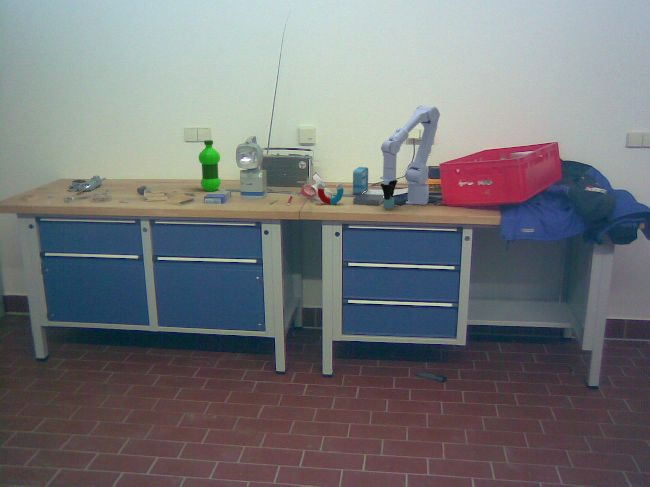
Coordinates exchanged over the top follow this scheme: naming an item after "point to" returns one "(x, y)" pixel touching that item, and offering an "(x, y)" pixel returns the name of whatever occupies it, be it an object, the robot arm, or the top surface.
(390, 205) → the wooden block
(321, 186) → the magnet
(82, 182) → the grey irregular piece
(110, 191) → the top surface
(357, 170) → the data package
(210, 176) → the plastic bottle
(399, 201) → the top surface
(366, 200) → the base block
